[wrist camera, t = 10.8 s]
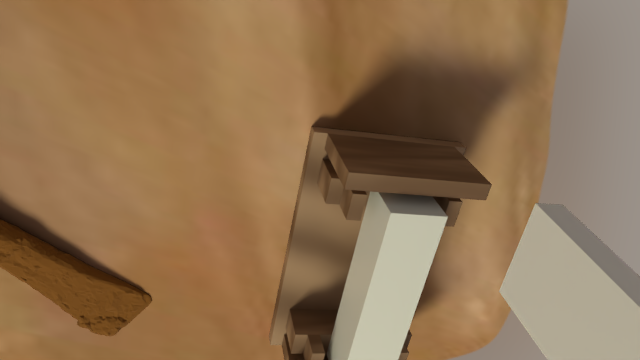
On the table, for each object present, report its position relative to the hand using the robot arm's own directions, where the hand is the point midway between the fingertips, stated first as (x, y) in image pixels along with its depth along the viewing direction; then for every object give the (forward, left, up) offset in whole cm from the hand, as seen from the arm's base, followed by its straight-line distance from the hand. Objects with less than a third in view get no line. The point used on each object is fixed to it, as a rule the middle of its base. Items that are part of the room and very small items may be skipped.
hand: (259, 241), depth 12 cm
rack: (+17, +14, -26) cm, 34 cm away
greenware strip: (+17, +14, -22) cm, 31 cm away
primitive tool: (+19, -11, -27) cm, 34 cm away
